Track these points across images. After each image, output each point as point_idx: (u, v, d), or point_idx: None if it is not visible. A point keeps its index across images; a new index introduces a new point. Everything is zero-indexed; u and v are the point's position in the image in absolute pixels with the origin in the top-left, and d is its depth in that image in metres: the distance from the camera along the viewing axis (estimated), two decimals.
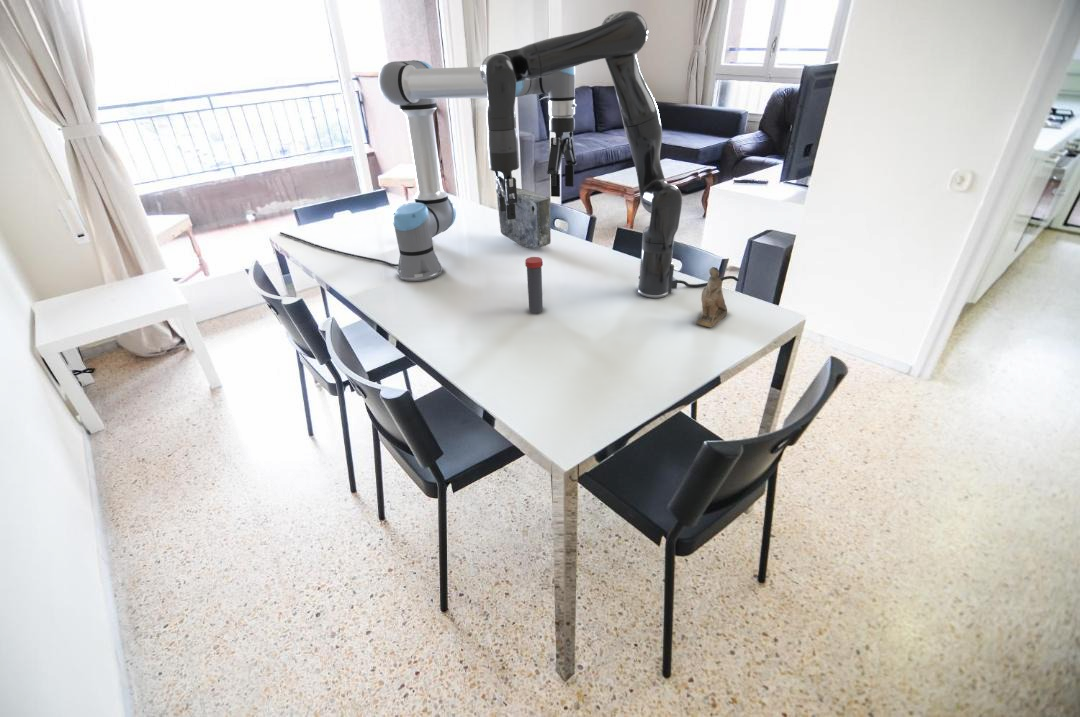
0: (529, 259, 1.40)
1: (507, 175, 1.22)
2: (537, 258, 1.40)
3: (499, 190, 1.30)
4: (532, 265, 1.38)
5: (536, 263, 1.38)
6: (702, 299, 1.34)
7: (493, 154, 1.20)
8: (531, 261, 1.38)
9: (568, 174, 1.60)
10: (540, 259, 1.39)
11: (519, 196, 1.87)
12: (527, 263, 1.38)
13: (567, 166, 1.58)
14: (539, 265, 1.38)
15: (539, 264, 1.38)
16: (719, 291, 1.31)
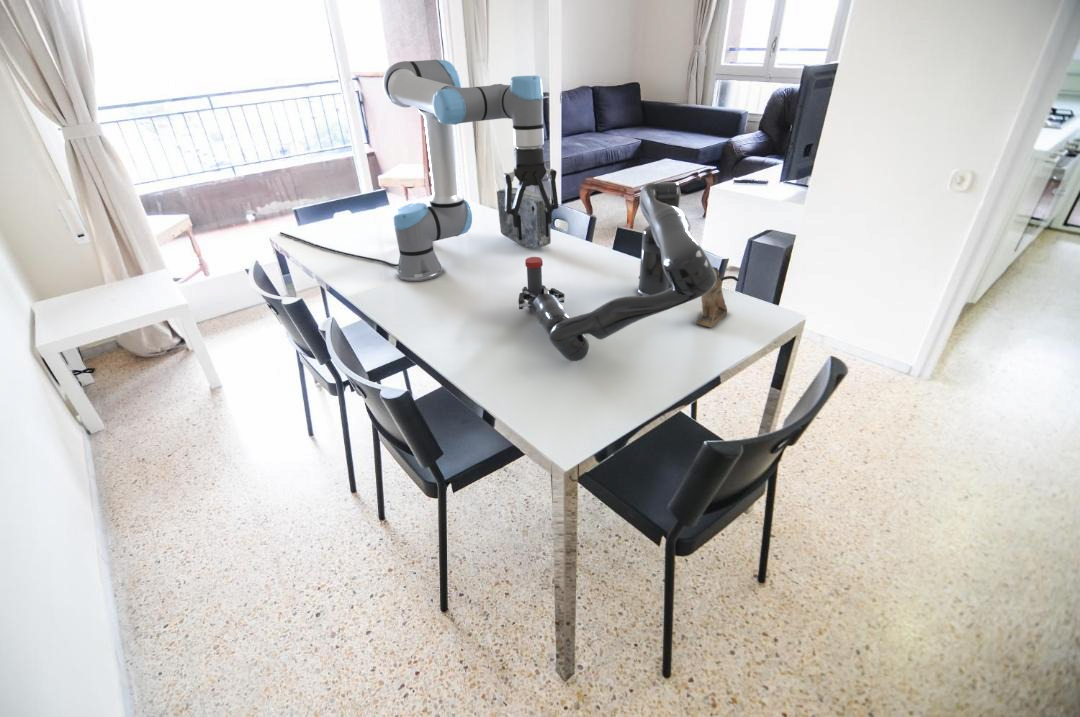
0: (529, 259, 1.40)
1: (530, 305, 1.36)
2: (537, 258, 1.40)
3: (544, 292, 1.41)
4: (532, 265, 1.38)
5: (536, 263, 1.38)
6: (702, 299, 1.34)
7: (540, 302, 1.31)
8: (531, 261, 1.38)
9: None
10: (540, 259, 1.39)
11: None
12: (527, 263, 1.38)
13: (519, 216, 1.31)
14: (539, 265, 1.38)
15: (539, 264, 1.38)
16: (719, 291, 1.31)
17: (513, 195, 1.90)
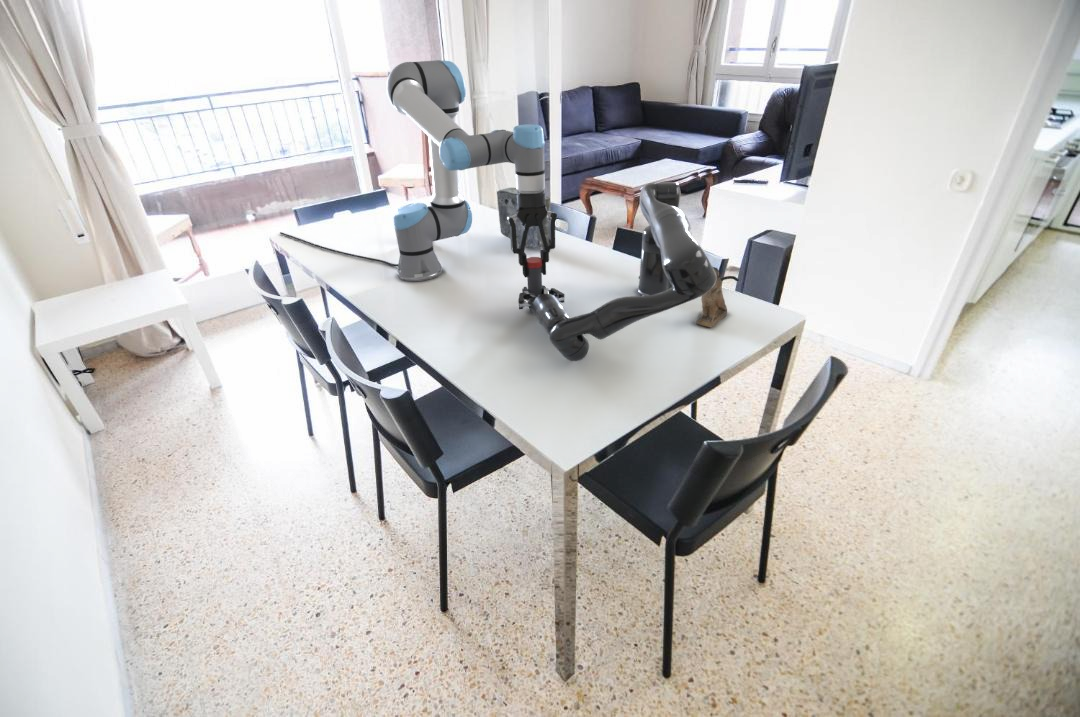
0: (529, 259, 1.40)
1: (530, 305, 1.36)
2: (537, 258, 1.40)
3: (544, 292, 1.41)
4: (532, 265, 1.38)
5: (536, 263, 1.38)
6: (702, 299, 1.34)
7: (540, 302, 1.31)
8: (531, 261, 1.38)
9: None
10: (540, 259, 1.39)
11: None
12: (527, 263, 1.38)
13: (525, 255, 1.37)
14: (539, 265, 1.38)
15: (539, 264, 1.38)
16: (719, 291, 1.31)
17: (513, 195, 1.90)
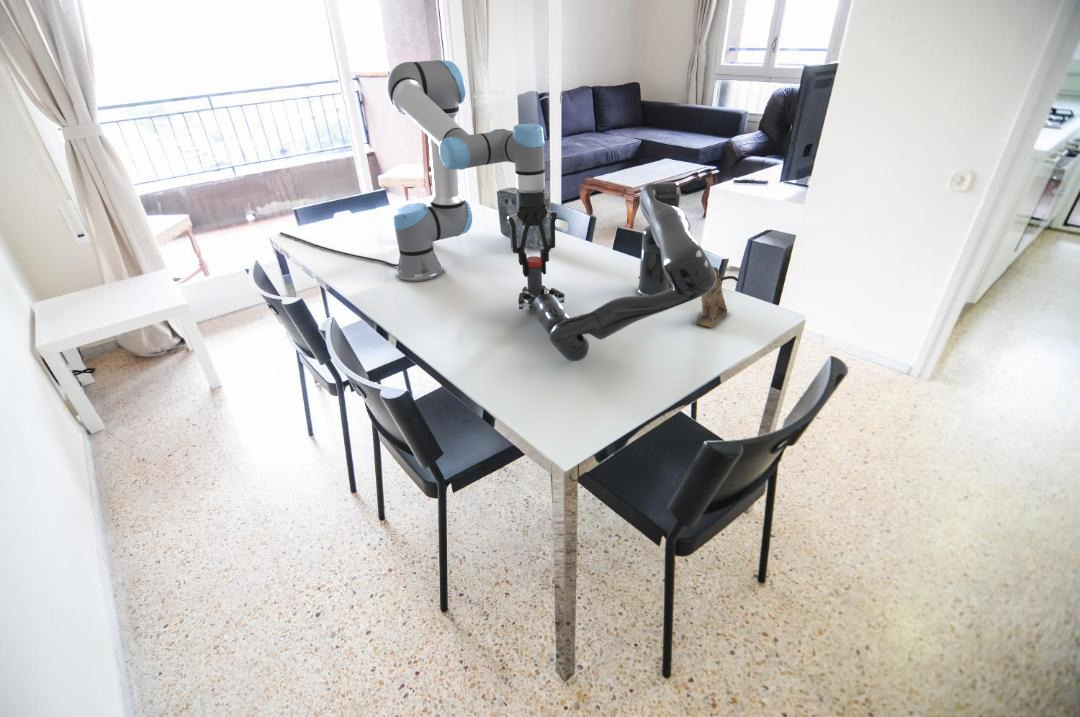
0: (531, 260, 1.38)
1: (530, 305, 1.36)
2: (531, 257, 1.40)
3: (544, 292, 1.41)
4: (541, 262, 1.39)
5: None
6: (702, 299, 1.34)
7: (540, 302, 1.31)
8: (537, 260, 1.38)
9: None
10: (535, 256, 1.41)
11: None
12: (537, 263, 1.38)
13: None
14: None
15: None
16: (719, 291, 1.31)
17: (513, 195, 1.90)
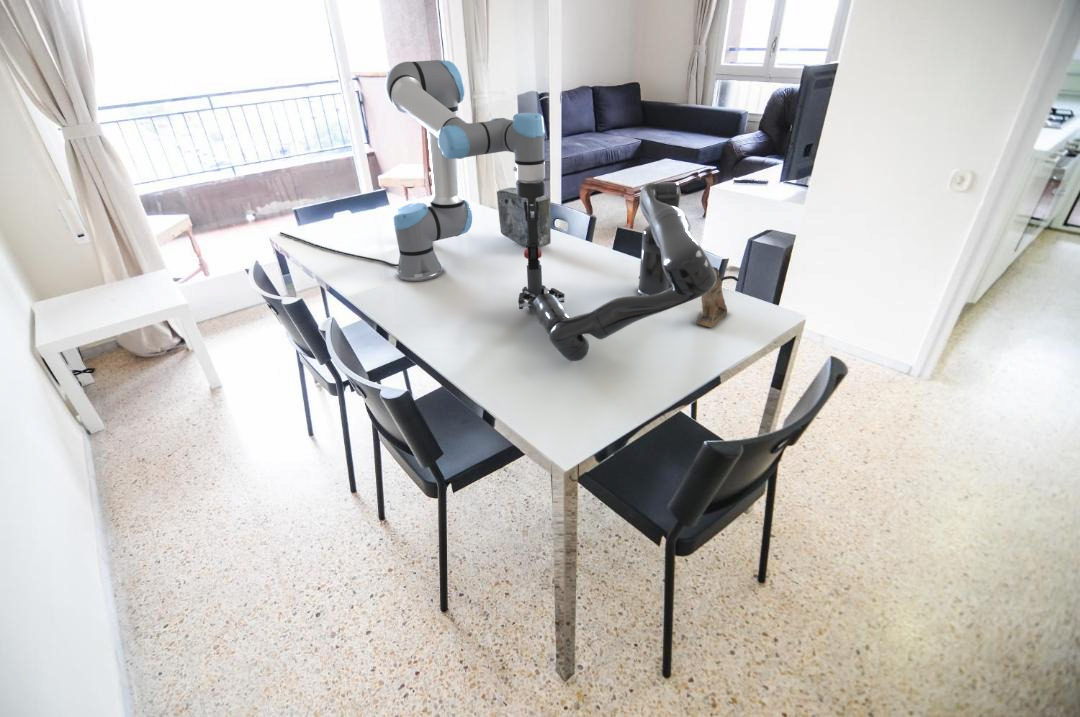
0: None
1: (530, 305, 1.36)
2: (527, 251, 1.38)
3: (544, 292, 1.41)
4: None
5: None
6: (702, 299, 1.34)
7: (540, 302, 1.31)
8: None
9: None
10: (526, 249, 1.39)
11: None
12: None
13: None
14: None
15: None
16: (719, 291, 1.31)
17: (513, 195, 1.90)
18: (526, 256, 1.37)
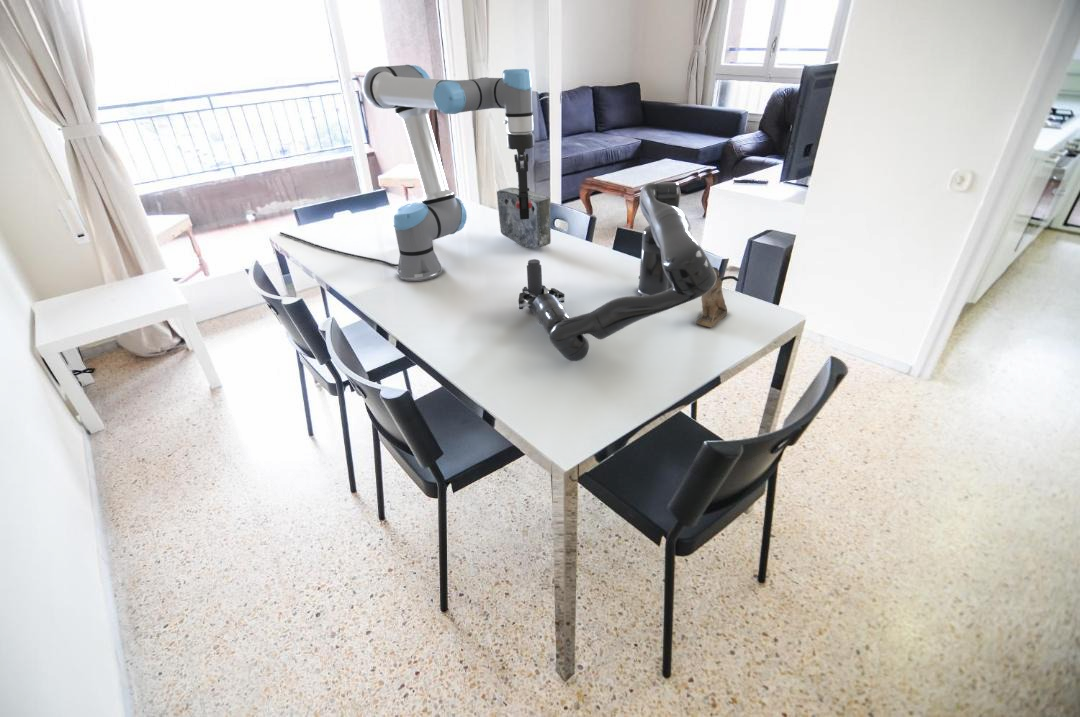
0: None
1: (530, 305, 1.36)
2: None
3: (544, 292, 1.41)
4: None
5: None
6: (702, 299, 1.34)
7: (540, 302, 1.31)
8: None
9: None
10: (518, 201, 1.49)
11: None
12: None
13: None
14: None
15: None
16: (719, 291, 1.31)
17: (513, 195, 1.90)
18: (517, 207, 1.48)
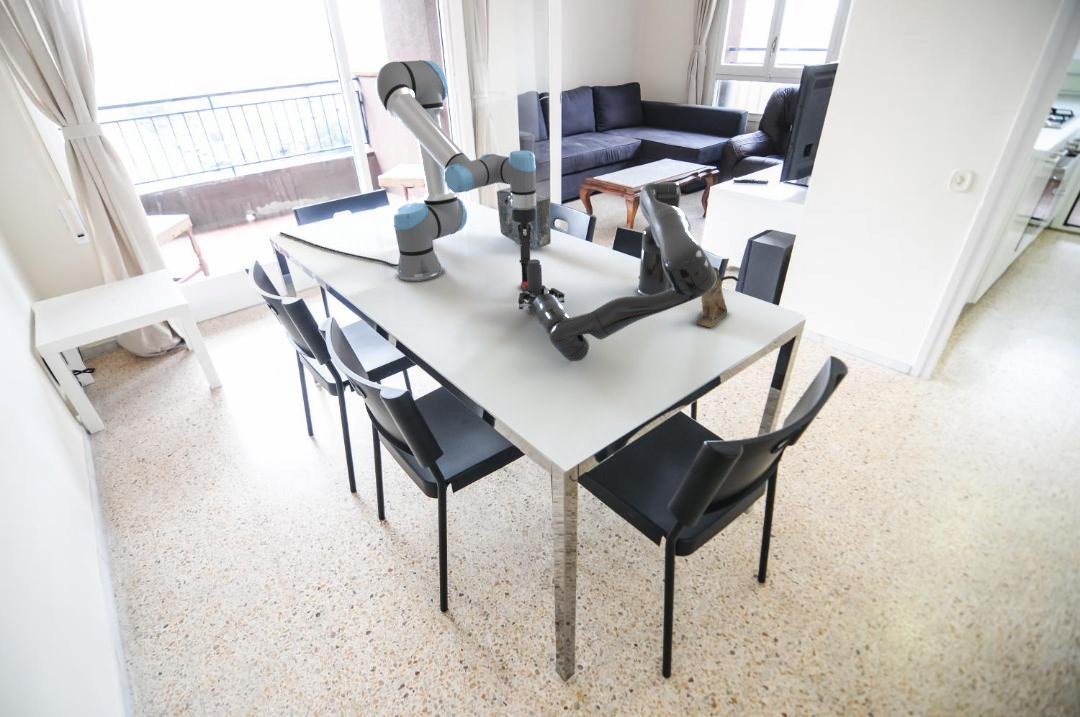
0: None
1: (530, 305, 1.36)
2: (524, 283, 1.61)
3: (544, 292, 1.41)
4: None
5: None
6: (702, 299, 1.34)
7: (540, 302, 1.31)
8: None
9: None
10: (523, 282, 1.62)
11: None
12: None
13: None
14: None
15: None
16: (719, 291, 1.31)
17: None
18: (522, 288, 1.61)
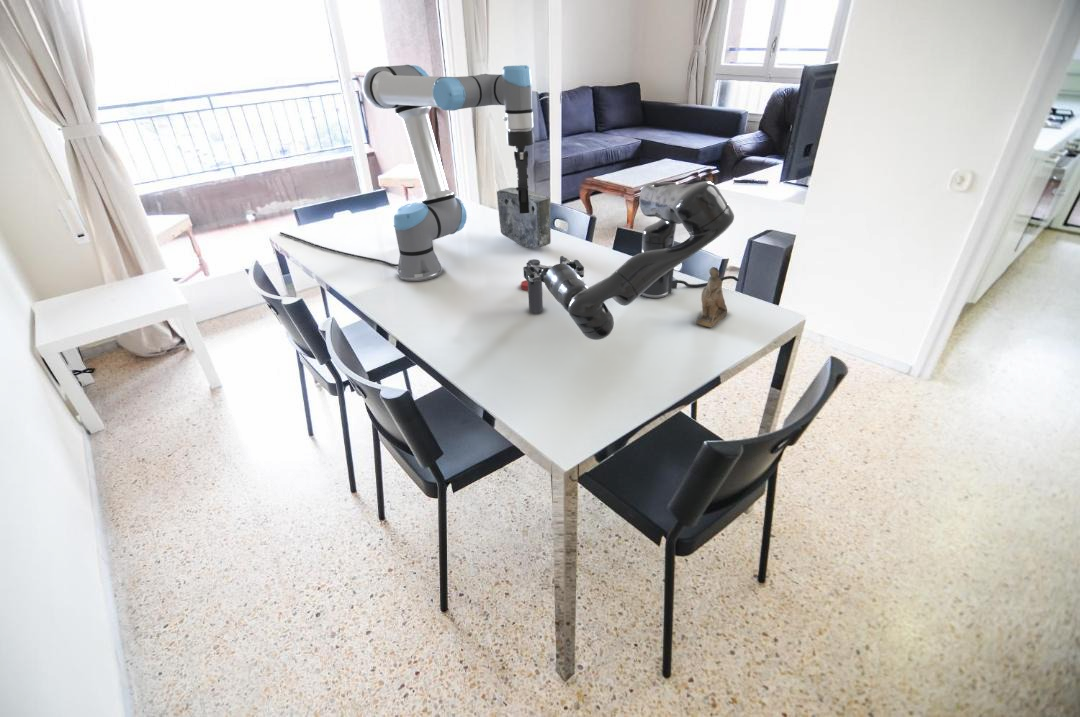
0: None
1: (543, 278, 1.18)
2: (524, 283, 1.61)
3: None
4: None
5: None
6: (702, 299, 1.34)
7: (555, 273, 1.13)
8: None
9: None
10: (523, 282, 1.62)
11: None
12: None
13: None
14: None
15: None
16: (719, 291, 1.31)
17: (513, 195, 1.90)
18: (522, 288, 1.61)
